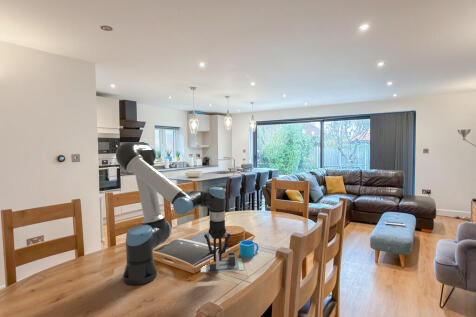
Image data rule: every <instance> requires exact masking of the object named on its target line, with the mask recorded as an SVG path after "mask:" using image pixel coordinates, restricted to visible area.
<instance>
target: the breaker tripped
mask: <svg viewBox="0 0 476 317" xmlns="http://www.w3.org/2000/svg"><path fill="white" fill-rule="evenodd" d="M209 260H210V271H215V270H216V261H214V260H211V259H209Z"/></svg>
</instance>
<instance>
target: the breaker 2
mask: <svg viewBox="0 0 476 317" xmlns="http://www.w3.org/2000/svg"><path fill="white" fill-rule="evenodd" d="M235 258H236V255H235V254H234V255H229V265H235Z"/></svg>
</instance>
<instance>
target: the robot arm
mask: <svg viewBox="0 0 476 317" xmlns="http://www.w3.org/2000/svg"><path fill="white" fill-rule="evenodd" d="M156 158H157V151H156V149H155V147H154V146H153V144H150V143H148V142H144V141H141V142H135V141H134V142H132V141H130V142H129V141H128V142H124V143H122V144H120V145H119V146H118V147H117V148H116V151H115V159H116V161H117V163H118V164H119V165H120V167H121V168H122V169H124V170H125V171H126V172H127V173H133V175H135V179H136V184H137V190H138V195H139V198H140V199H139V200H140V204H141V209H142V215H143V219H142V221H141V224H138V225H135V226H133V227H130V228H129V229H128V230H127V232H126V234H125V247H126V249H125V251H126V264H125V267H124V271H123V273H122V274H123V275H122V281H123V283H124V284H126V285H130V286H140V285H145V284H149V283H150V282H152V281H154V280H155V279H156V278H157V276H158V269H157V266H156V263H155V262H154V249H156V248H157V247H158V246H160V245H161V244H164V243H165V242H166V241H167V240H168V239H169V238H170V236H171V234H172V226H171V223H170V222H168V220H166V216H165V215H163V214H162V212H161V207H160V203H159V197H158V194H159V195H161V197H163V198H164V199H165V200H167V202H169V203H170V204H172V207H173V210H174V212H175V213H176V214H177V215H179V216H181V215H182V216H183V215H187V214H189V213H191V212H192V211H194V210H196V209H197V208H200V207H203V208H209V209H208V210H209V211H208V212H209V213H208V214H209V229H208V232H205V233H204V234H203V235H204V238H205V240H206V242H207V247H208V248H207V249H208V250H209V254H210V255H213V259H214V261H216V268H219V261H221V259H222V254H225V253H226V250H227V246H228V242H229V238H230V237H231V232H229V231H227V229H226V220H225V219H226V193H225V191H226V190H225V188H224V187H221V186H214V187H210V188H209V189H208V191H207V190H206V191H203V190H187V192H185V191H184V190H183V189H182V188H180V187H179V186H178V185H176V184H175V183H173V181H171V180H170V179H168V177H166V176H164V174H162V173H161V172H160V171H158V170H157V169H155V161H156ZM224 236H225V238H224V242H223V246H222V238H223V237H224ZM210 237H211V238H212V239H213V242H212V243H213V249H212V244H211V240H210ZM217 240H218V252H217Z"/></svg>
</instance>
